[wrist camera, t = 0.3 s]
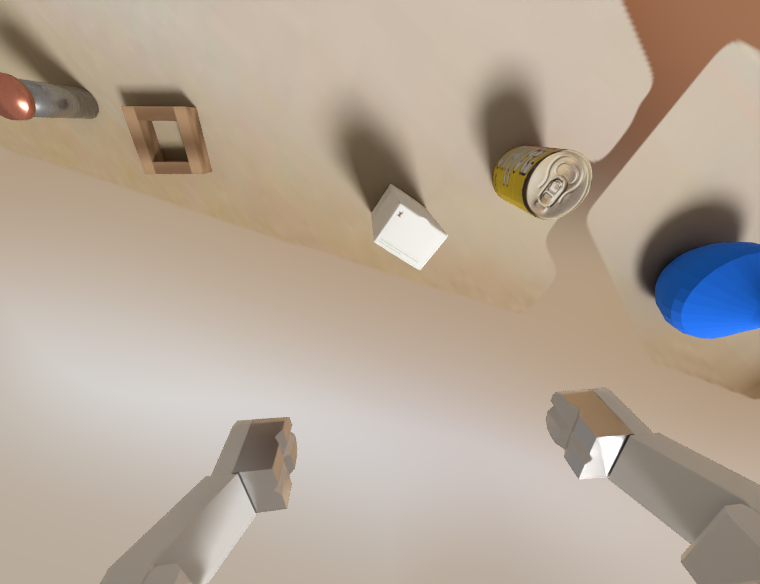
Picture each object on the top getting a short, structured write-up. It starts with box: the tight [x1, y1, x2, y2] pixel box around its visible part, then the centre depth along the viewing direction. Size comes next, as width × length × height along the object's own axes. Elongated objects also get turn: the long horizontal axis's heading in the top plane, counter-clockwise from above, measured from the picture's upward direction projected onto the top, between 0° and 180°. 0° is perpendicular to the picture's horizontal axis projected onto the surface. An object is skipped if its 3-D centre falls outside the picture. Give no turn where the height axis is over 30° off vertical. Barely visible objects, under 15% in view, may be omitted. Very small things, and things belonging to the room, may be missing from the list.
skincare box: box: [371, 184, 448, 270], centre depth 46 cm, size 8×7×16 cm
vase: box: [655, 242, 760, 339], centre depth 52 cm, size 18×18×19 cm
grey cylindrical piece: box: [0, 72, 99, 120], centre depth 40 cm, size 5×5×11 cm
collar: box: [121, 106, 212, 174], centre depth 46 cm, size 9×9×3 cm
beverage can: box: [493, 145, 592, 220], centre depth 45 cm, size 9×9×12 cm
